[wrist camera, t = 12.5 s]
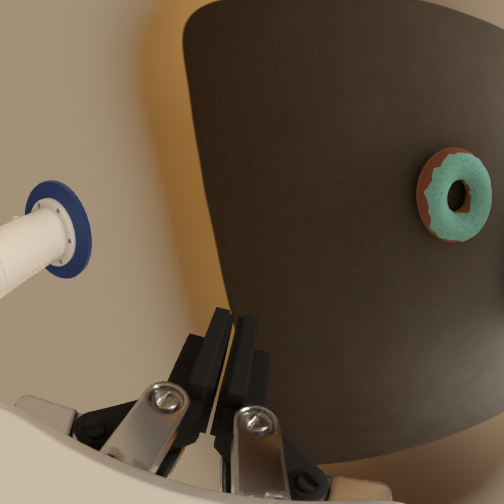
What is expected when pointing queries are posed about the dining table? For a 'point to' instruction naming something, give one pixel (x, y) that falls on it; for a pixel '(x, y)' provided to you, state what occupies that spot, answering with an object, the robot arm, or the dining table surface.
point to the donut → (436, 189)
